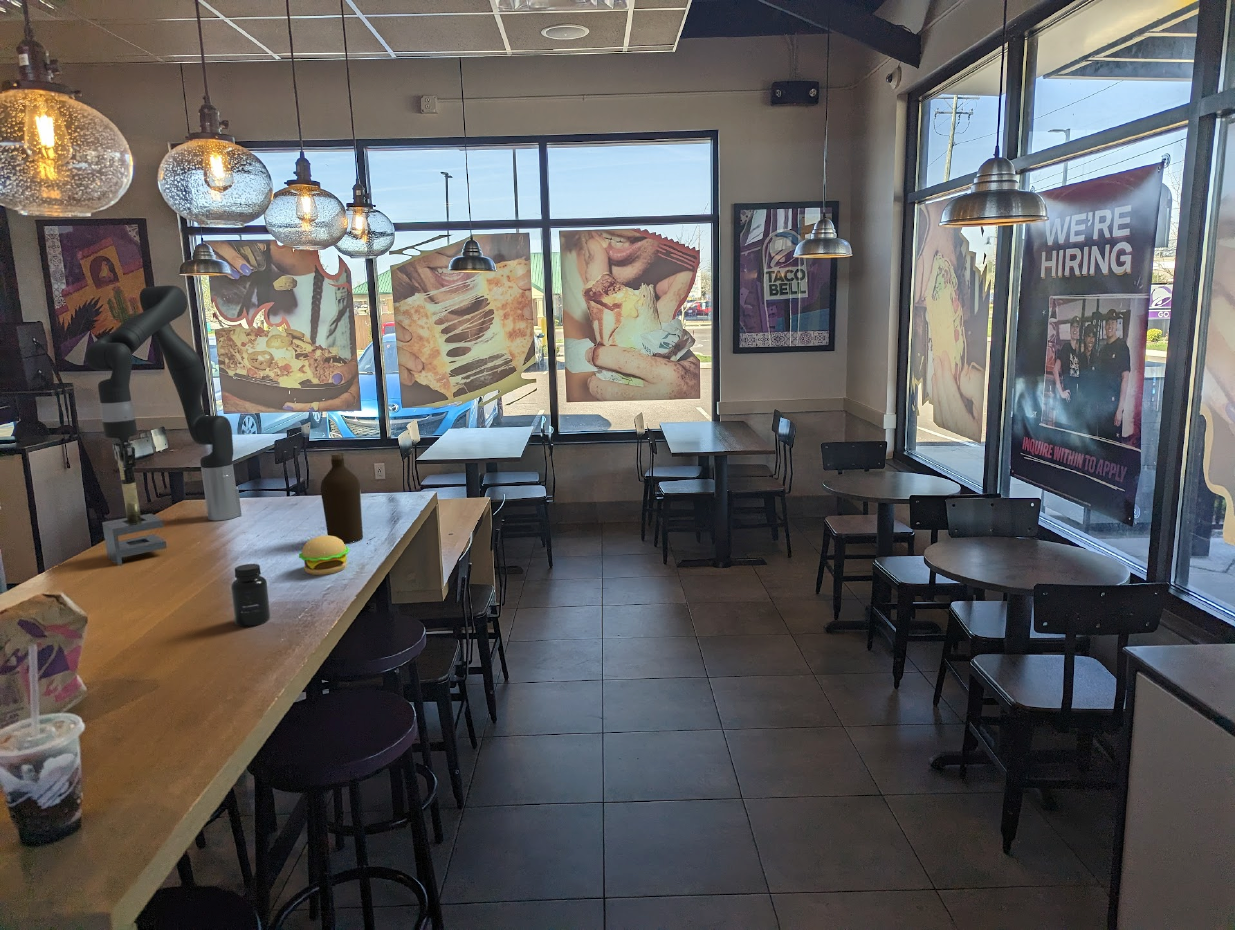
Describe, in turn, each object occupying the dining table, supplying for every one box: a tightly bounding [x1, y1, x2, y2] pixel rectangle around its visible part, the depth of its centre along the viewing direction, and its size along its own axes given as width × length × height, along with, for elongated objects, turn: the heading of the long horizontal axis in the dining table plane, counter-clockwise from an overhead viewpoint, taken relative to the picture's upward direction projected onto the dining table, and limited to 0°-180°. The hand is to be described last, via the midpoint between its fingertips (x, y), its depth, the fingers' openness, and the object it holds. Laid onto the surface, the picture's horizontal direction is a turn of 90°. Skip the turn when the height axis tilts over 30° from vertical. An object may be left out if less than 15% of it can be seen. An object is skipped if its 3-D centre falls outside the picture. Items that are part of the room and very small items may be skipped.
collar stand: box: [101, 513, 168, 566], centre depth 219 cm, size 12×11×10 cm
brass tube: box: [118, 459, 142, 524], centre depth 217 cm, size 3×3×18 cm
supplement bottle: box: [230, 563, 271, 628], centre depth 168 cm, size 7×7×12 cm
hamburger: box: [298, 534, 350, 576], centre depth 202 cm, size 12×12×9 cm
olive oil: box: [320, 452, 364, 544], centre depth 227 cm, size 11×11×25 cm
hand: (128, 481), depth 216 cm, fingers closed on brass tube, 3 cm apart
